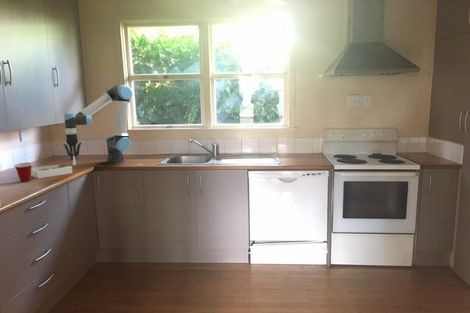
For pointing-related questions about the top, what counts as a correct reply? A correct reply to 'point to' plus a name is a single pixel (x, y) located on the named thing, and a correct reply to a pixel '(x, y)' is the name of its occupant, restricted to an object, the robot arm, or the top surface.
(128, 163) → the top surface
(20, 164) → the plastic cup
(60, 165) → the walnut block
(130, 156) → the top surface
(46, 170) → the box
